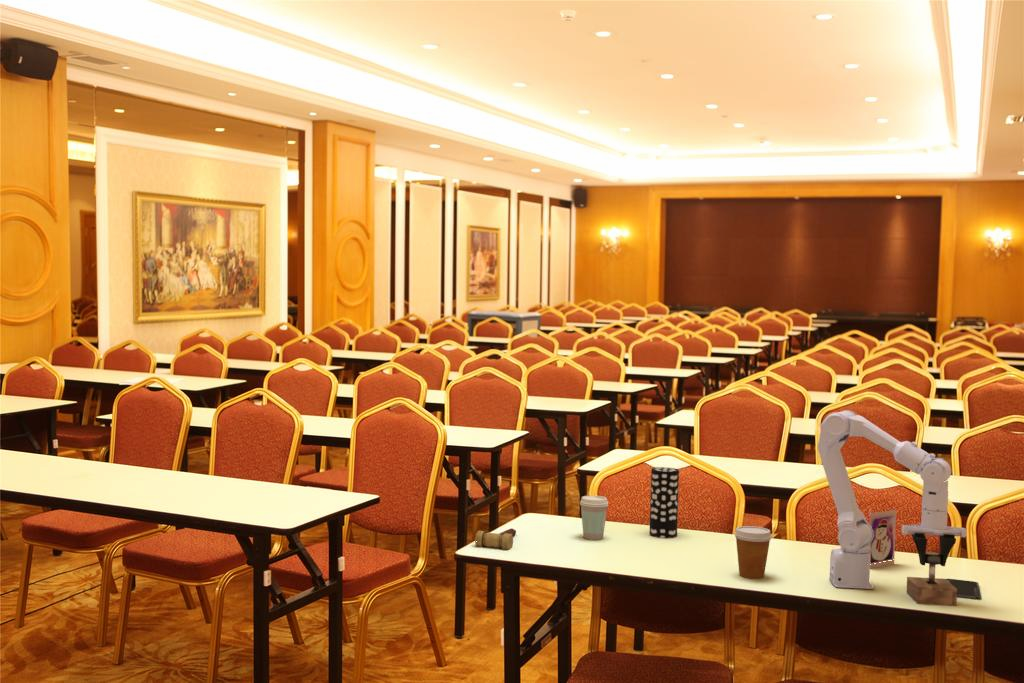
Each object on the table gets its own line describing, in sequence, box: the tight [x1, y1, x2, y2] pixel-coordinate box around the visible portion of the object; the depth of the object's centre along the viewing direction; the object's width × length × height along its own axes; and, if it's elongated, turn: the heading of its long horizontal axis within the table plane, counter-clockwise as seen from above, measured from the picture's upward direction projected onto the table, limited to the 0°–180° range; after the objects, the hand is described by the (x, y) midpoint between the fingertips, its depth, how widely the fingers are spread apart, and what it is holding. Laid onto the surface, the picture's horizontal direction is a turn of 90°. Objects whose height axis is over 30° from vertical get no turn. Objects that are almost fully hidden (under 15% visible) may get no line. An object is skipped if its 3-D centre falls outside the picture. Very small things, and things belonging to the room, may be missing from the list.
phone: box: [945, 578, 982, 601], centre depth 254 cm, size 8×1×15 cm
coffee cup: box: [579, 494, 609, 541], centre depth 301 cm, size 8×8×12 cm
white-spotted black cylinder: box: [649, 466, 680, 539], centre depth 307 cm, size 8×8×20 cm
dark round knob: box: [925, 551, 942, 584], centre depth 245 cm, size 4×4×7 cm
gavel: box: [474, 528, 517, 551], centre depth 295 cm, size 21×5×10 cm
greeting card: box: [868, 509, 897, 569], centre depth 278 cm, size 11×7×15 cm, turn 123°
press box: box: [906, 576, 958, 606], centre depth 245 cm, size 9×9×4 cm
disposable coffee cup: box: [733, 525, 773, 579], centre depth 263 cm, size 10×10×12 cm
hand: (932, 564), depth 245 cm, fingers closed on dark round knob, 4 cm apart
